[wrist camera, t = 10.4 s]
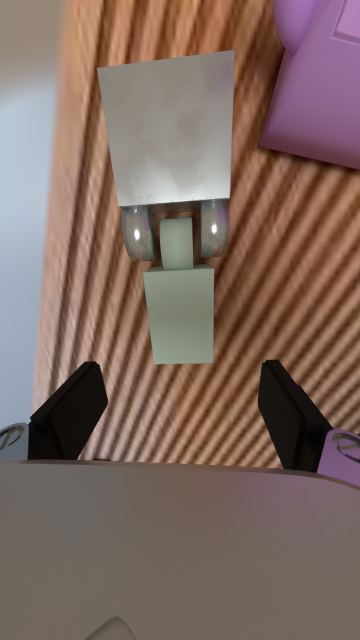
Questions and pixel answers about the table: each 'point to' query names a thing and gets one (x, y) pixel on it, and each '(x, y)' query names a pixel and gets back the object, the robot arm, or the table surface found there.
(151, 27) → the table surface
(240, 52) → the table surface
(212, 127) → the steel hinge leaf
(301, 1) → the teapot
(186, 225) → the sage hinge leaf
